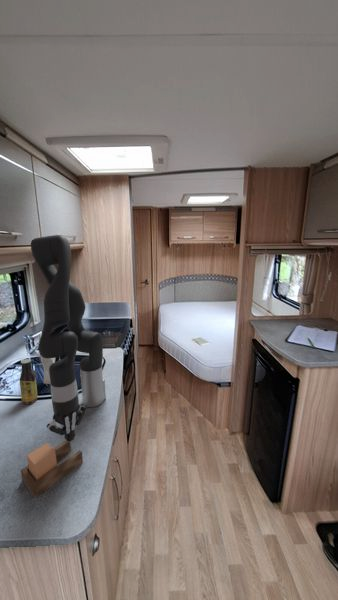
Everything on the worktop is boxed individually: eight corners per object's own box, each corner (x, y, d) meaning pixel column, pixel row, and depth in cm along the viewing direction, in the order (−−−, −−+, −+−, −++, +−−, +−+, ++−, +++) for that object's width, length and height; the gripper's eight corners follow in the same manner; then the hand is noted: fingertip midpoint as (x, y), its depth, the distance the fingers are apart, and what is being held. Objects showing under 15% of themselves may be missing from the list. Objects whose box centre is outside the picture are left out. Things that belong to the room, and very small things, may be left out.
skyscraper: (54, 387, 122) (48, 334, 115) (39, 385, 123) (32, 333, 117) (64, 378, 130) (59, 328, 123) (50, 376, 131) (44, 327, 125)
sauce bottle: (18, 404, 109) (12, 363, 104) (29, 395, 115) (23, 356, 110) (31, 406, 108) (26, 365, 103) (41, 397, 114) (36, 358, 109)
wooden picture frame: (69, 448, 86) (68, 439, 85) (82, 461, 81) (81, 451, 80) (22, 480, 74) (20, 470, 74) (35, 498, 69) (33, 487, 68)
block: (50, 465, 79) (47, 442, 77) (58, 474, 76) (55, 451, 74) (30, 479, 75) (26, 455, 72) (38, 489, 72) (34, 464, 69)
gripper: (77, 379, 83) (81, 422, 88) (37, 399, 73) (44, 446, 78) (90, 387, 79) (94, 432, 83) (49, 410, 69) (56, 459, 73)
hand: (70, 439), depth 80 cm, fingers closed
